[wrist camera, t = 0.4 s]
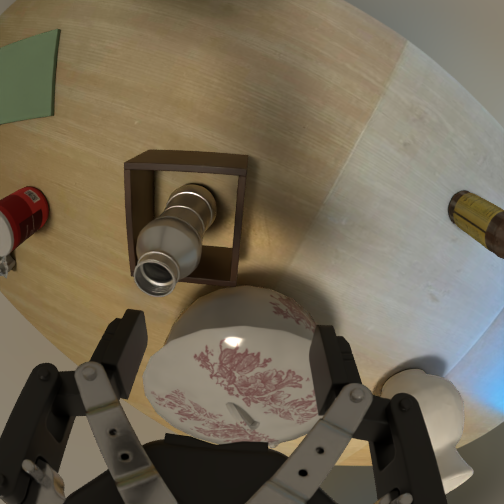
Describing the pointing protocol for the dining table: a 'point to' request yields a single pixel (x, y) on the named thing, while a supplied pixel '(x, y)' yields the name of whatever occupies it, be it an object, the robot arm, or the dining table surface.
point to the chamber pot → (237, 368)
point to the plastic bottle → (174, 240)
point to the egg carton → (6, 264)
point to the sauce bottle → (479, 220)
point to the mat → (28, 77)
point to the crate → (142, 206)
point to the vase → (436, 419)
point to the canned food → (21, 217)
